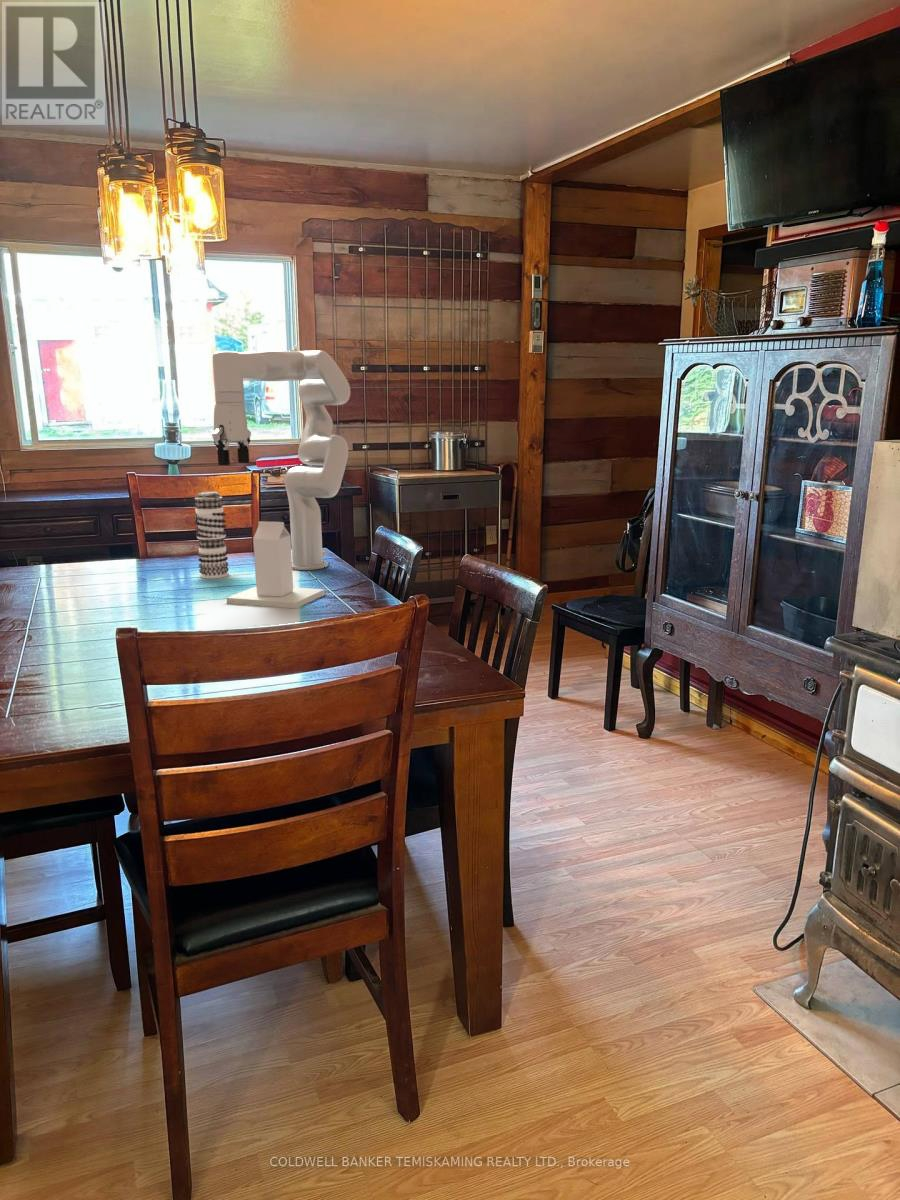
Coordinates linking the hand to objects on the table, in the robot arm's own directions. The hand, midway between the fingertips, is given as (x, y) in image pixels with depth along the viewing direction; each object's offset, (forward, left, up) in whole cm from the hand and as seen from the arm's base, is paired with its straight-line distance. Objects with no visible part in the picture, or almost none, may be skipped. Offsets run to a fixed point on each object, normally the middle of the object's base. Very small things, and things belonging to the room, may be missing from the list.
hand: (234, 463), depth 223 cm
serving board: (+11, +17, -34) cm, 40 cm away
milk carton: (+11, +17, -33) cm, 39 cm away
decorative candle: (-12, -17, -34) cm, 40 cm away
